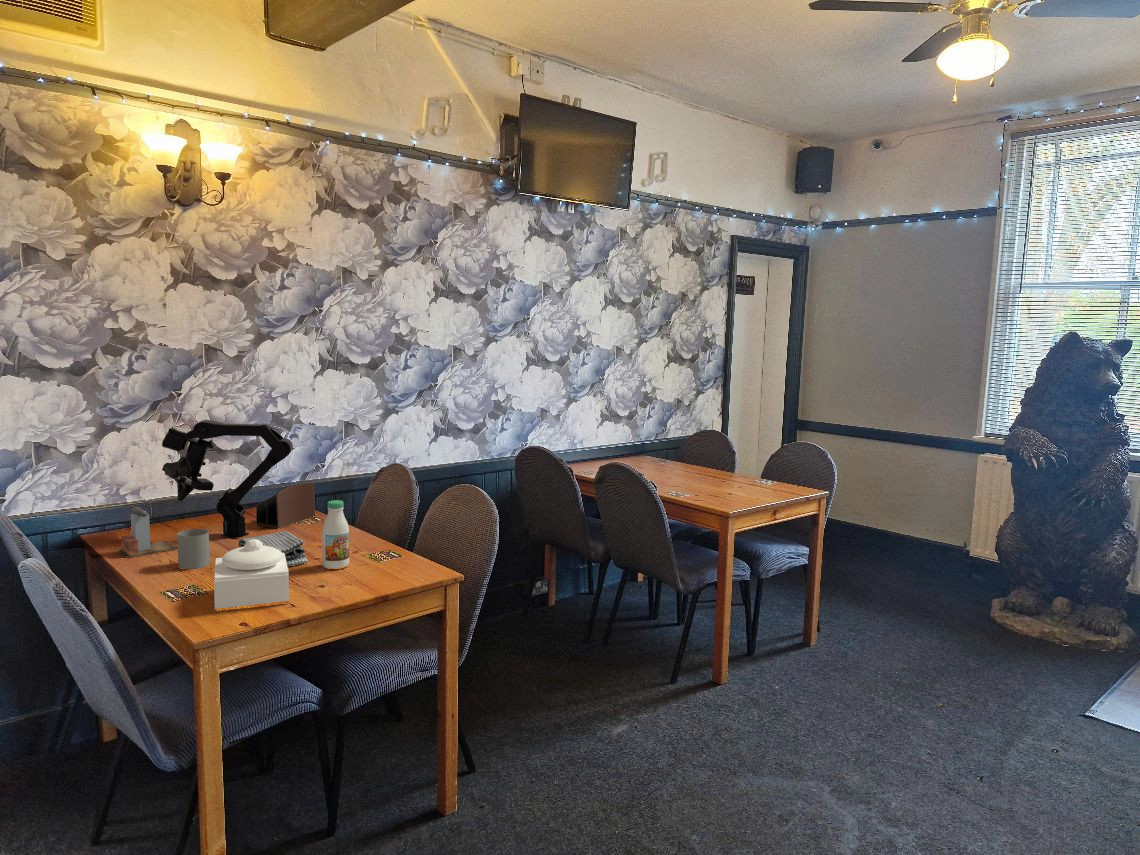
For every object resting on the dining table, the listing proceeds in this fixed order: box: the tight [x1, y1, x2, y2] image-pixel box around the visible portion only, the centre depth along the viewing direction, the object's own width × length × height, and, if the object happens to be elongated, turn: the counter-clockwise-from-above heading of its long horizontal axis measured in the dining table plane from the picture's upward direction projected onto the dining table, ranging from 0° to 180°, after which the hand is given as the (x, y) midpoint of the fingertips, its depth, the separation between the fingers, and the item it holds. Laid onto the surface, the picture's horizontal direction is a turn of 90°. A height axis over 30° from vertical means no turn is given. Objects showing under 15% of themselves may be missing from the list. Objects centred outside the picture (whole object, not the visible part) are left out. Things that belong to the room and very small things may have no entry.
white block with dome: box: [213, 539, 290, 610], centre depth 205 cm, size 18×18×16 cm
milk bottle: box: [321, 499, 350, 568], centre depth 231 cm, size 8×8×20 cm
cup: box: [176, 528, 211, 570], centre depth 228 cm, size 8×8×10 cm
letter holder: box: [255, 482, 316, 529], centre depth 281 cm, size 10×20×14 cm, turn 159°
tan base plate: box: [120, 534, 178, 558], centre depth 241 cm, size 14×9×5 cm, turn 137°
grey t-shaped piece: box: [130, 505, 151, 551], centre depth 239 cm, size 4×8×13 cm, turn 46°
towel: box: [237, 531, 309, 566], centre depth 235 cm, size 15×18×8 cm
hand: (179, 500), depth 256 cm, fingers closed
